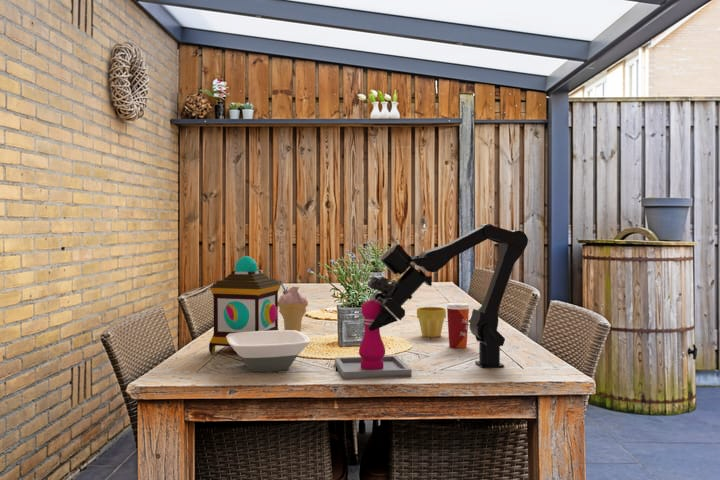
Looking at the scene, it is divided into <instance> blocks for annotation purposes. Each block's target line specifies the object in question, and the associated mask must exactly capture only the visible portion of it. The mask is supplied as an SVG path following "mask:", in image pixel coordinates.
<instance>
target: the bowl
mask: <svg viewBox="0 0 720 480" xmlns="http://www.w3.org/2000/svg"><path fill="white" fill-rule="evenodd" d="M226 338H227V341H228V343H229V344H230V346H229V347H230V348H232V349H233V351H234V352H236V354H237V355H238V356H239V357H240V358H241V360H242V362H243V363H244V364H245V366H246V368H247V370H249V371H250V372H251V373H267V372H268V373H269V372H270V373H271V372H280V371H288V370H289V369H290V368H291V366H292V364H293V363H294V362H295V360H296V359H297V357H298V356H299V355H300V354H301V353H302V352H303V351H304V350H305V349H306V347H307V346H309V344H310V342H311V339H310V337H308V336H307V335H306V334H305V333H304V332H301V331H300V332H299V331H296V330H285V329H284V330H282V329H280V330H279V329H278V330H275V331H252V332H238V333H229V334H228V335H227V336H226Z"/></svg>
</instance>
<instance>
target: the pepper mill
mask: <svg viewBox="0 0 720 480" xmlns="http://www.w3.org/2000/svg"><path fill="white" fill-rule="evenodd" d="M368 299H369V300H367V301H365V302H364V303H363V304H362V306H361V308H360V309H361V314H362V316H363V318H362V324H363V323H364V324H365V326H364V333H363V337H362V340H361V342H360V345H359V347H358V355H359V357H362V359H363V360H362V361H361V368H362V369H366V370H379V369H382V368H383V361H382V360H381V359H382V358H383V357H384V356H386V355H385V354H386V347H385V345H384V341H383V339H382V336H381V333H380V331H381V330H380V328H381V327H380V328H378V329H376V330H373V331H370V330H369V329H368V328H369V327H370V325H371V324H372V322H373V321H374V319H375V318H376V317H377V315H378V314H379V312H380V304H381V303H380V302H378V301H374V300H375V299H376V298H375V296H374V295H373V294H371V295H369V296H368ZM381 305H382V304H381ZM363 321H364V322H363Z"/></svg>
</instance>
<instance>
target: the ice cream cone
mask: <svg viewBox="0 0 720 480" xmlns="http://www.w3.org/2000/svg"><path fill="white" fill-rule="evenodd" d="M278 282H279V283H280V284H281V286H280V287H282V290H283V292H282V295H280V296H279V298H278V313H279V314H280V315H281V317H282V319H283V325H284V326H283V327H284V330H296V331H299V332H301V330H302V321H303V317H304V315H305V314H306V312H307V309H306V308H307V307H308V306H309V302H308V300H307V296H306V295H302V293H300V292H298V290H299V289H300V287H299V286H292V287H290V288H289V286H287V287H285V285H284V284H283V283H282V281H281V280H278ZM288 288H289V289H288Z"/></svg>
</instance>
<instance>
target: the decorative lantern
mask: <svg viewBox="0 0 720 480" xmlns="http://www.w3.org/2000/svg"><path fill="white" fill-rule="evenodd" d="M281 287H282V286H281V284H280V282H279V280H276V279H275V278H273V277H269V276H268V275H265V273H263V272H262V271H261V270H259V269H258V263H257V261H255V259H254V258H252V257H251V256H248V255H244V256H242V257H240V258H239V259H238V261H236V262H235V267H234V270H233V271H231V273H230V274H228V275H227V276H226V277H224V278H223V279H220V280H217V281H216V282H215V283H212V285H211V286H210V287H209V290H210V292H211V294H212V297H213V333H212V337H211V339H210V341H209V344H208V349H209V351H208V352H209V353H210V355H213V354H215V351H216V346H218V347H231V346H230V344H229V343H228V341H227V338H226V336H227V335H228V334H229V333H238V332H252V331H275V330H279V324H278V323H279V314H278V313H279V306H278V301H279V298H278V297H279V296H278V294H279V293H278V292H279V290H280V288H281Z"/></svg>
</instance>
